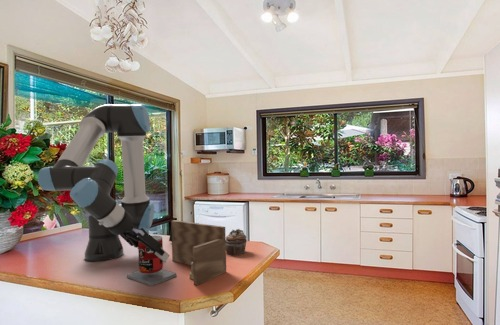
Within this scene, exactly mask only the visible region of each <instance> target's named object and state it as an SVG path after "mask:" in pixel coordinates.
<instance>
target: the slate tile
mask: <svg viewBox="0 0 500 325" xmlns="http://www.w3.org/2000/svg"><path fill="white" fill-rule="evenodd" d="M175 277H177V273H176V272H172V271H168V270H166V269H162V270H160V271H158V272H155V273H148V274H145V273H141V272H140V271H139V270H136V271H134V272H130V273H128V274H126V278H128V279H130V280H132V281H136V282H139V283H142V284H145V285H148V286H150V287H153V286H156V285H158V284H161V283H163V282H166V281H168V280H171V279H173V278H175Z"/></svg>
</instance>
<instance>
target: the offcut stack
mask: <svg viewBox="0 0 500 325" xmlns="http://www.w3.org/2000/svg"><path fill="white" fill-rule="evenodd" d="M189 279H190V280H193V262H192V263H191V265H190V272H189Z"/></svg>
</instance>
